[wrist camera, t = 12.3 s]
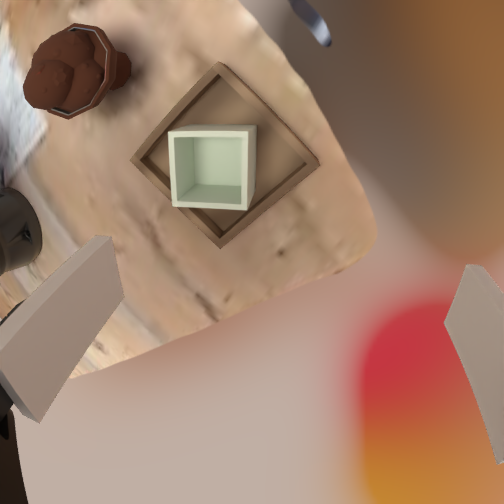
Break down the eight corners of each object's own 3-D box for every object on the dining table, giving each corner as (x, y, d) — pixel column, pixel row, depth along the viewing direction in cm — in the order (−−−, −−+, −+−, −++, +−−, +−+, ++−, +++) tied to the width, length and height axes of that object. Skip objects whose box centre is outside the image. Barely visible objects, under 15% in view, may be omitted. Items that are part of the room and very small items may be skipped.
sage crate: (192, 187, 39) (172, 206, 33) (189, 124, 35) (168, 131, 29) (255, 190, 38) (247, 210, 32) (257, 124, 35) (248, 131, 28)
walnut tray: (140, 155, 39) (129, 160, 36) (224, 63, 32) (218, 61, 30) (225, 238, 43) (220, 248, 40) (318, 160, 36) (319, 165, 34)
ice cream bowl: (159, 92, 35) (89, 99, 21) (90, 119, 37) (12, 141, 24) (142, 20, 30) (70, -2, 17) (75, 53, 32) (-4, 54, 19)
